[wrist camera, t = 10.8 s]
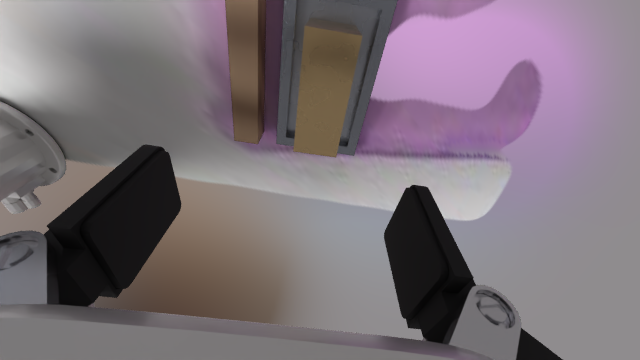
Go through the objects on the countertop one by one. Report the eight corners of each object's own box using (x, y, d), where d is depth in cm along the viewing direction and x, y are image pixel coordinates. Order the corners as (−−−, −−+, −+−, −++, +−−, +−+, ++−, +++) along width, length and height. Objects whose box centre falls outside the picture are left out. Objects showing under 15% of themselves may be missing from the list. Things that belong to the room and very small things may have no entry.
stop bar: (355, 25, 22) (362, 35, 17) (335, 128, 28) (336, 157, 23) (310, 17, 22) (304, 25, 17) (300, 123, 28) (293, 151, 23)
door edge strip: (263, 131, 29) (257, 144, 27) (242, 127, 29) (234, 140, 26) (268, -134, 17) (257, -154, 14) (231, -142, 17) (214, -164, 14)
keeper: (353, 148, 30) (353, 155, 29) (278, 137, 29) (276, 143, 28) (394, -4, 21) (398, -3, 20) (288, -25, 20) (285, -26, 19)
